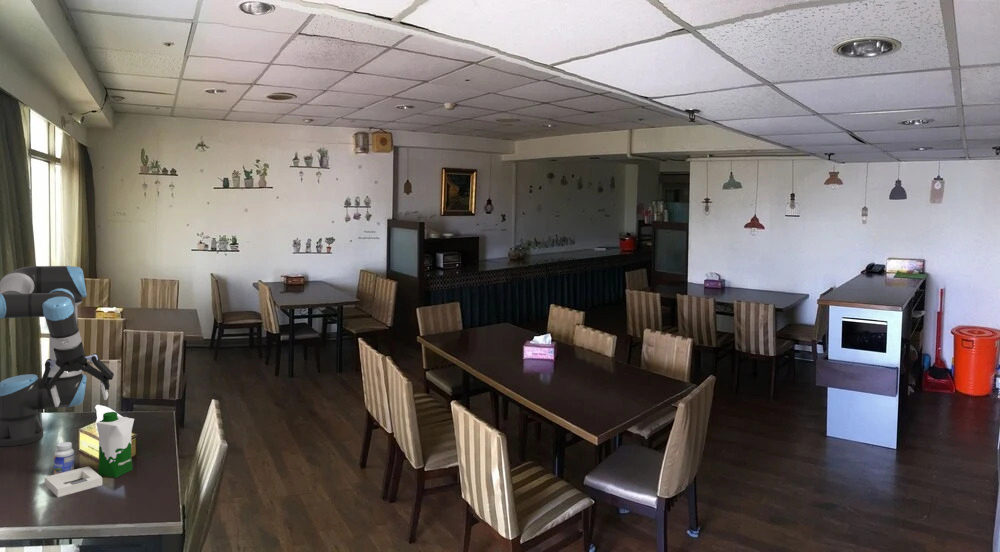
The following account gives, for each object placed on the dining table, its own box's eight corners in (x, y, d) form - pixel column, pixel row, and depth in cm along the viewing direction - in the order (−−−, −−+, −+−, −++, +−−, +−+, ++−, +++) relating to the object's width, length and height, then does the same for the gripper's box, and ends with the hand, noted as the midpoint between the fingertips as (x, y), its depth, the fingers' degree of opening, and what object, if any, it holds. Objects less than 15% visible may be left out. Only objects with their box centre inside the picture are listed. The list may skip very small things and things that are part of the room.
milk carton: (114, 465, 208) (115, 408, 206) (137, 469, 206) (137, 412, 204) (92, 475, 200) (92, 416, 198) (116, 479, 198) (116, 420, 196)
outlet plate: (44, 484, 191) (44, 476, 191) (88, 473, 201) (88, 465, 201) (57, 497, 184) (57, 488, 184) (102, 485, 194) (102, 477, 193)
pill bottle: (50, 473, 199) (49, 445, 198) (67, 467, 204) (67, 439, 203) (60, 477, 197) (60, 448, 196) (77, 471, 202) (77, 443, 201)
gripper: (15, 356, 183) (33, 414, 191) (111, 345, 191) (124, 401, 200) (23, 344, 189) (40, 400, 198) (115, 334, 198) (127, 388, 206)
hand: (82, 401), depth 199 cm, fingers open, 13 cm apart
